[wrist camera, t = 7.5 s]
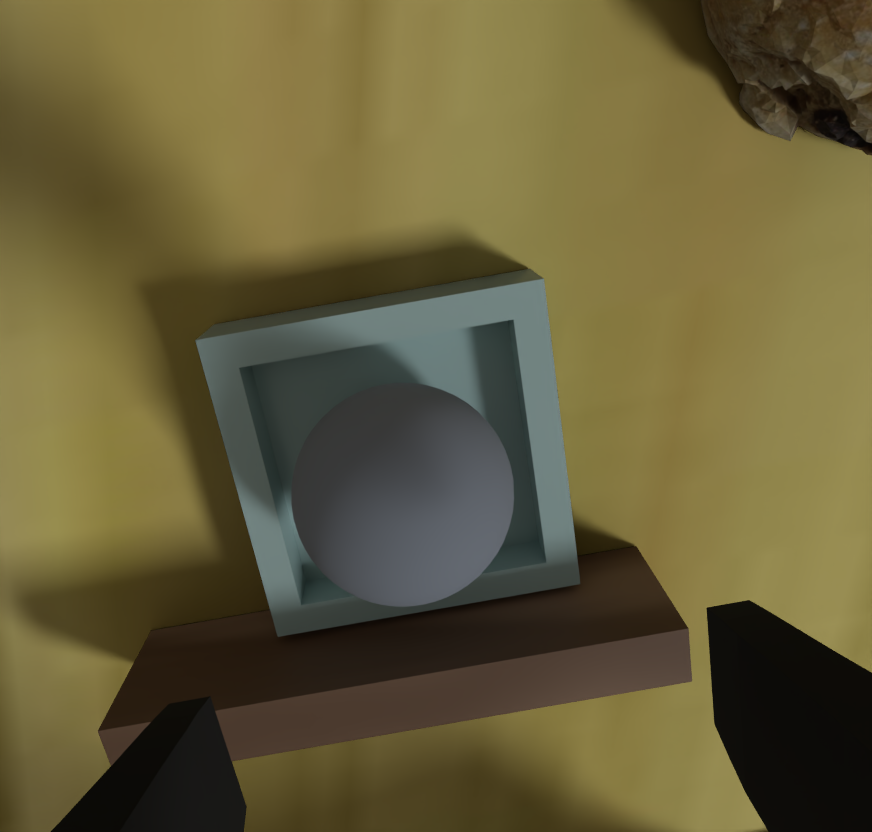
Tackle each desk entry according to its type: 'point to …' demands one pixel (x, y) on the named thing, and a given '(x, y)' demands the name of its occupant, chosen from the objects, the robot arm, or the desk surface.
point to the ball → (402, 494)
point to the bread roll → (800, 64)
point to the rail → (411, 664)
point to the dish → (383, 364)
